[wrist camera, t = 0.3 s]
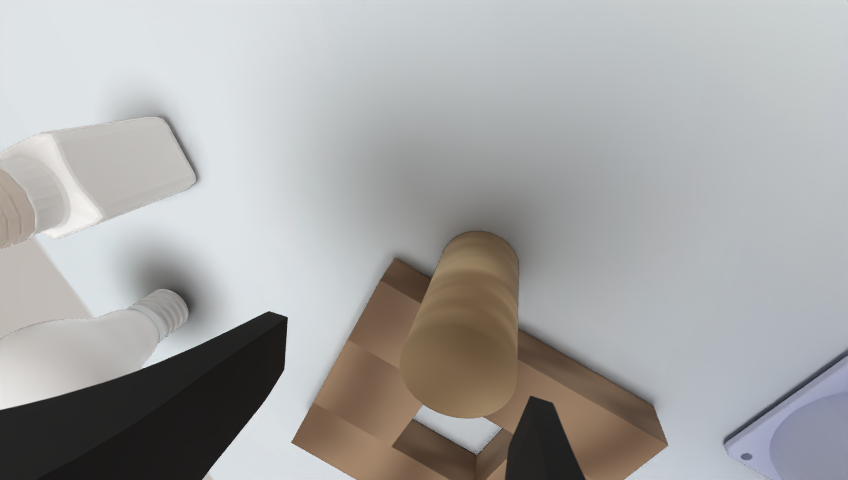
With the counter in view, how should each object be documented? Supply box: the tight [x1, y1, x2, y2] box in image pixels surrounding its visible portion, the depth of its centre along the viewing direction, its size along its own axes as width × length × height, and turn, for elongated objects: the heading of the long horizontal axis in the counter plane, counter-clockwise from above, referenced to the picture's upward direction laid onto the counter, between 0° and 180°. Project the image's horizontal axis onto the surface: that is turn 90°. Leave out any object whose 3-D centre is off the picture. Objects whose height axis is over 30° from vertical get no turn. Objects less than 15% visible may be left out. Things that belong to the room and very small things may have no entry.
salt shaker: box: [0, 117, 196, 249], centre depth 18 cm, size 4×4×10 cm
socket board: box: [291, 258, 668, 480], centre depth 24 cm, size 16×14×2 cm
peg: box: [400, 231, 519, 418], centre depth 17 cm, size 4×4×8 cm
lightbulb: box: [0, 289, 189, 410], centre depth 22 cm, size 6×6×11 cm
